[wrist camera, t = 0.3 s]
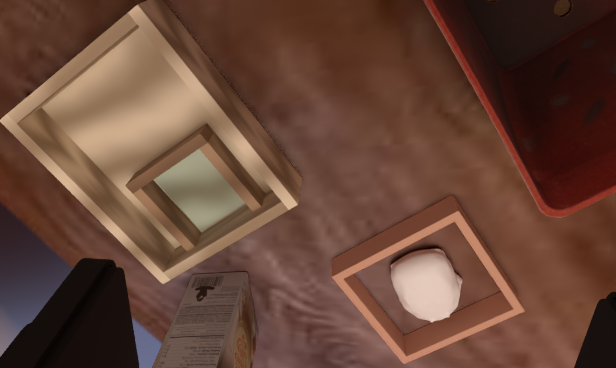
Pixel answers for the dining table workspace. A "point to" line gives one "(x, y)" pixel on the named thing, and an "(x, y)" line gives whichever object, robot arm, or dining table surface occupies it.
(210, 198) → the walled box
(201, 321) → the coffee box
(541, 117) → the plant pot
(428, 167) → the dining table surface
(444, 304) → the garlic
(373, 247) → the garlic dish
